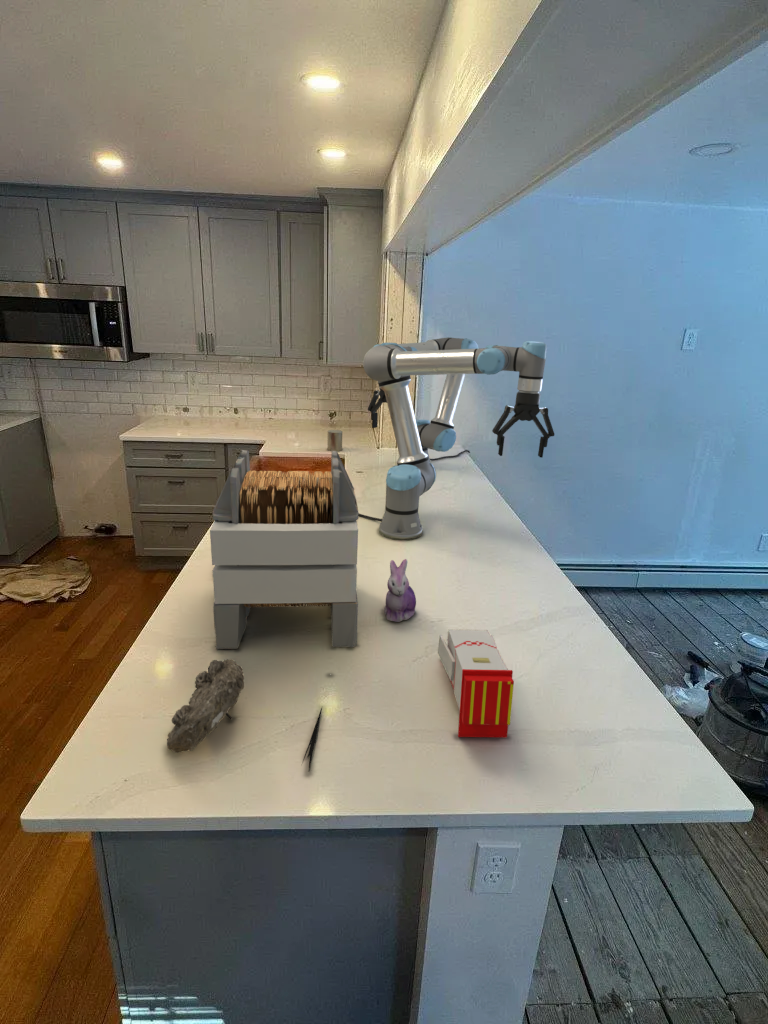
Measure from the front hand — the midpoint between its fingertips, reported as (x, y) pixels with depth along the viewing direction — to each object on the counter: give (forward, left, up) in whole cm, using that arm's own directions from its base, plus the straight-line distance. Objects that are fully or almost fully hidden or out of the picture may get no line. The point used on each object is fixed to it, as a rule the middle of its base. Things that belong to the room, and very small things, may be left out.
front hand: (520, 455), depth 190 cm
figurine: (+16, -67, -30) cm, 75 cm away
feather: (+36, -106, -30) cm, 116 cm away
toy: (+48, -76, -30) cm, 95 cm away
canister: (-138, +24, -30) cm, 143 cm away
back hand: (-75, +6, -6) cm, 75 cm away
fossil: (+23, -121, -30) cm, 127 cm away
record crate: (-2, -89, -30) cm, 94 cm away
